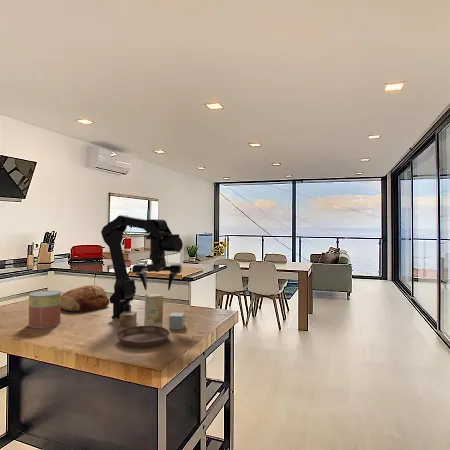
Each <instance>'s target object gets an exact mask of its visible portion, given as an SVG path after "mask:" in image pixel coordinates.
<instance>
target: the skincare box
mask: <svg viewBox="0 0 450 450" xmlns="http://www.w3.org/2000/svg"><path fill="white" fill-rule="evenodd" d="M144 295H145V296H144V320H143V321H144V324H143V326H158V327H162V328H163V315H164V295H163V294H162V293H151V294H144Z"/></svg>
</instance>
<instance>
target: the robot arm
mask: <svg viewBox="0 0 450 450" xmlns="http://www.w3.org/2000/svg"><path fill="white" fill-rule="evenodd" d="M127 227H132V228H138V229H142V230H143V231H145V232H147V233H149V234H148V235H147V236H146V237H145V239H146V240H150V241H149V245H150V246H149V249H150V250H149V259H148V260H147V262H146V264H145V263H136V264H134V265H133V266H132V268H131V269H132V271H131V273H133V274H135V275H136V276H139V278H140V280H141V283H142V285H143V288H144V290H145V291H147V289H148V281H147V280H148V279H147V272H149V273H152V272H156V273H158V272H170V273H169V274H168V283H167V290H168V291H170V290H171V287H172V284H173V281H174V279H175V276H177V275H178V274H180V273H182V271H183V270H182V269H183V266H182V264H178V263H175V264H174V263H173V264H172V263H171V265H167V260H166V252H169V253H180V252H181V251H182V249H183V245H184V244H183V240H182V238H181V237H180V234H179V233H177V234H173V233H172V231H171V228H169V225H168V223H167V221H166V220H165V219H157V218H156V219H144V218H139V217H134V216H130V215H126V214H125V215H123V214H122V215H121V214H120V215H118V216H117V217H116V218H115V219H113V220H111V221H109V222H107V224H106V225H104V226H103V227H102V229H101V231H100V233H101V236H102V240H103V242H104V243H105V244H106V246H108V249H109V253H110V257H111V263H112V266H113V273H114V276H115V281H114V282H115V283H114V286H113V290H114V292H113V293H112V294H111V295H110V296H109V297H108V298H109V301H110V302H109V304H112V316H111V319H120V314H121V313H123V312H124V311H125V312H132V305H131V302H132V301H133V300H134V298H135V295H136V292H137V287H136V284H135V282H136V281H135V280H134V279H130V277H129V276H128V275H129V274H128V270H127V266H126V261H125V258H124V253H123V248H122V241H123V239H124V236H123V235H124V234H123V233H125V232H126V231H127Z"/></svg>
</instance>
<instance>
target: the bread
mask: <svg viewBox="0 0 450 450" xmlns="http://www.w3.org/2000/svg"><path fill="white" fill-rule="evenodd" d="M109 298H110V297H109V296H108V295H107V293H106V291H105V289H104V288H103V287H101V286H98V285H95V284H93V285H90V284H89V285H84V286H83V285H82V286H80V287H76V288H72V289H70V290H68V291H65V292H64V293H62V295H61V310H62V309H63V310H64V311H68V312H89V311H90V312H91V311H96V310H99V309H102V308H105V307H107V306H109V304H110V300H109Z"/></svg>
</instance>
